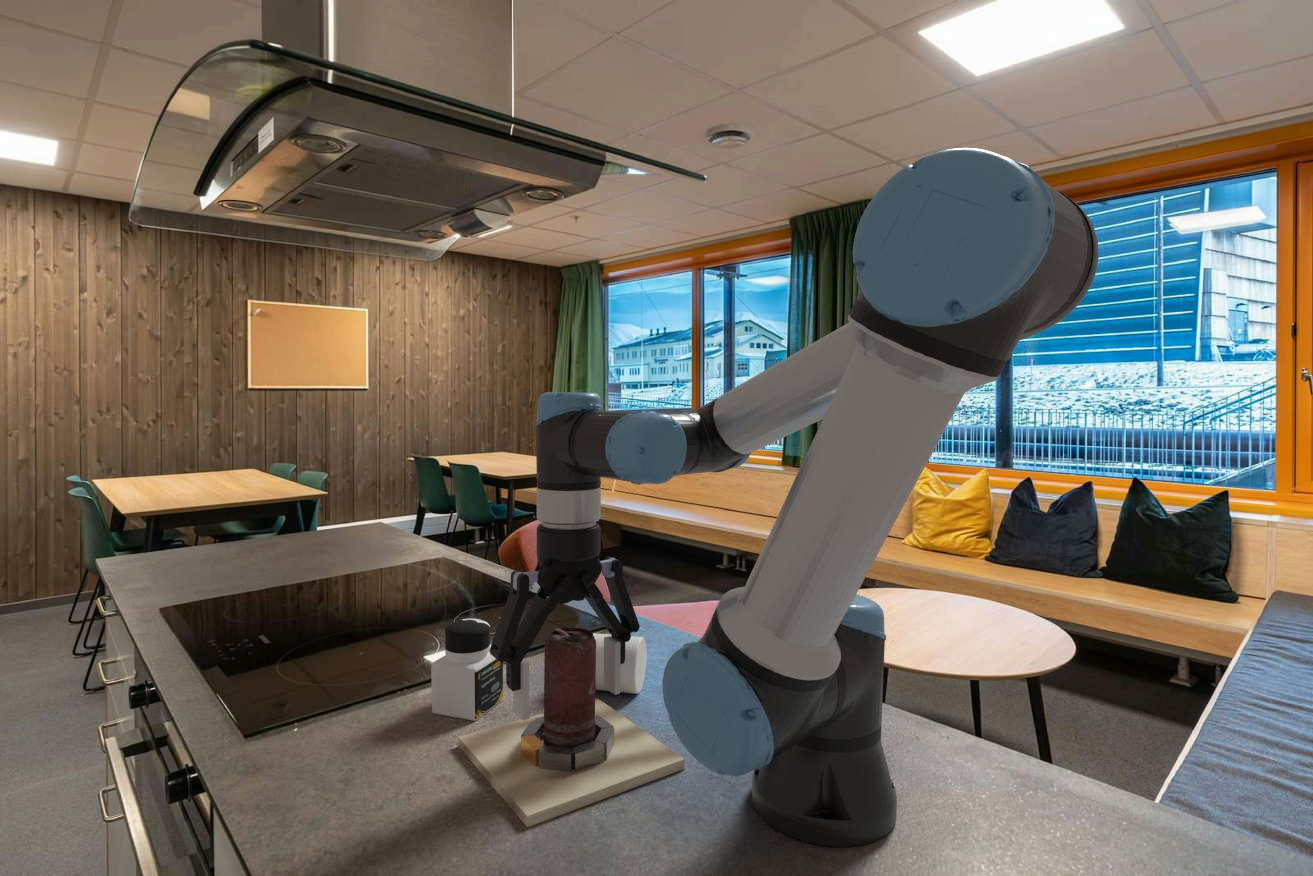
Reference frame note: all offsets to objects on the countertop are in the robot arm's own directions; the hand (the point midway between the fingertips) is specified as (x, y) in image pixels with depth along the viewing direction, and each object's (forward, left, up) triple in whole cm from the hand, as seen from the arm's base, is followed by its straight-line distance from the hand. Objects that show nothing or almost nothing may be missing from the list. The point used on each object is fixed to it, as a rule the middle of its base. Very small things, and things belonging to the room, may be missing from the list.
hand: (568, 702), depth 86 cm
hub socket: (0, 0, -6) cm, 6 cm away
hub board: (0, 0, -7) cm, 7 cm away
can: (0, 0, -6) cm, 6 cm away
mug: (+16, -16, -7) cm, 24 cm away
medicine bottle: (+20, +5, -7) cm, 22 cm away
